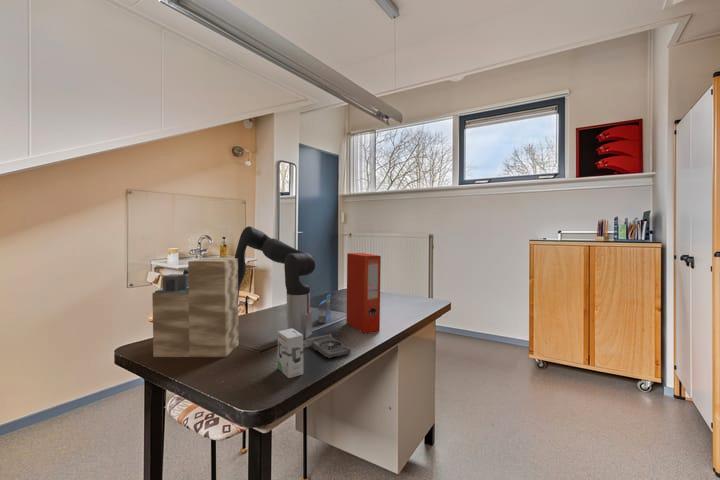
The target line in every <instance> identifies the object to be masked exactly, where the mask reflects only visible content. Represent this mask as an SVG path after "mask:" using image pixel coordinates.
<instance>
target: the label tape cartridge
mask: <svg viewBox="0 0 720 480" xmlns="http://www.w3.org/2000/svg"><path fill="white" fill-rule="evenodd" d="M331 296H332V295H331V292H330V293H329V294H327V295H326V297H325V299H324V300H322V301H321V302H320V303H319V304H318V308H317V309H318V313H317V314H318V318H317V319H318V323H319V324H320V323H321V324H326V323H328V321H329V320H330V319H331V318H332V317H331Z"/></svg>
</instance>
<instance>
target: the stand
mask: <svg viewBox="0 0 720 480" xmlns="http://www.w3.org/2000/svg"><path fill="white" fill-rule="evenodd" d="M187 265H188V267H187V269H188V270H187V271H188V282H189V287H186V289H183V290H180V291H163V288H160V289H158V290H155V291H154V292H152V294H151V295H152V296H151V297H152V300H151V301H152V344H153V345H152V346H153V347H152V348H153V350H152V352H153V353H152V354H153V358H226V357H228V355H229V354H230V353H232V351H233V350H234V349H236V348H237V347H238V346H239V343H240V342H239V334H240V332H239V331H240V330H239V329H240V328H239V298H238V258H235V257H231V258H230V257H229V258H228V257H227V258H226V257H225V258H224V257H222V258H220V257H218V258H217V257H216V258H214V257H209V258H208V257H205V258H204V257H203V258H200V259H194V260H190V261H189V260H188V261H187Z"/></svg>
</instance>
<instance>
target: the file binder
mask: <svg viewBox="0 0 720 480" xmlns="http://www.w3.org/2000/svg"><path fill="white" fill-rule="evenodd" d="M346 255H347V256H346V260H347V261H346V262H347V263H346V269H347V270H346V324H347V325H349V326H351V327H353V329H355V330H357V331H358V332H360V333H362V334H363V333H364V335H366V334H365V333H367V334H372V333H371V332H375V333H379V332H380V330H381V329H380V327H381V326H380V324H381V267H382V265H381V263H382V261H381V260H382V257H381V255H378V254H377V255H376V254H373V253H371V254H370V253H364V252H350V253H349V252H347V253H346ZM378 331H379V332H378Z"/></svg>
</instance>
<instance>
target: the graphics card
mask: <svg viewBox="0 0 720 480" xmlns="http://www.w3.org/2000/svg"><path fill="white" fill-rule="evenodd" d="M332 335H333V334H331V333H329V334H326V335H320V336H315V337H312V338H311V337H310V338H306V339H304V340H303V349H307V348H312V349H313V350H314V351H316V352H319V353H320V354H321V355H323V356H324V357H326V358H327V357H328V359H332V358H333V357H342V356H344V355H346V354H350V353H351V352H352V351H351V350H352V349H351V347H349V346H347V345H345V344H344V343H342V342H341V341H339V340H338V339H336V338H335V337H333V336H332Z"/></svg>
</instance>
